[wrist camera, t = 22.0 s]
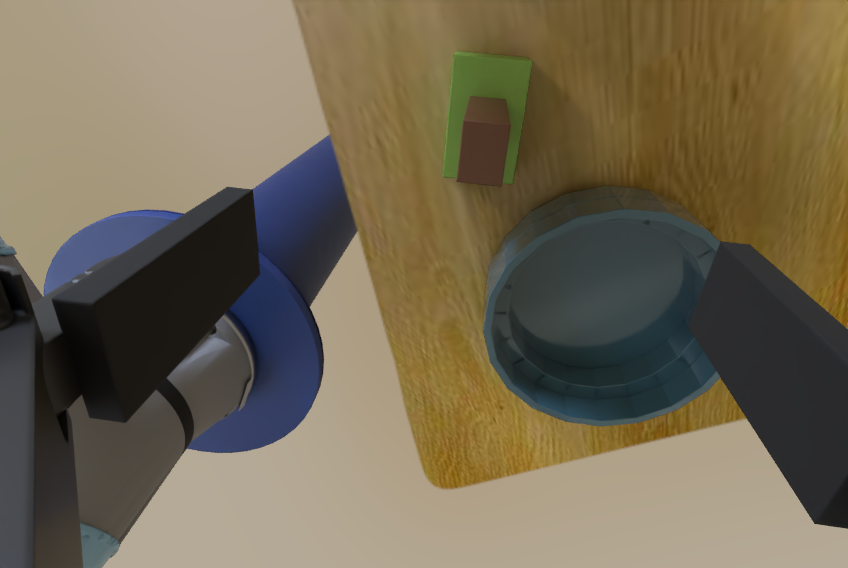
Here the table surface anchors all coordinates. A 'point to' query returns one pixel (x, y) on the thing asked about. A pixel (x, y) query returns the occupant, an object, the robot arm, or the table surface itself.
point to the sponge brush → (485, 117)
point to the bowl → (601, 307)
